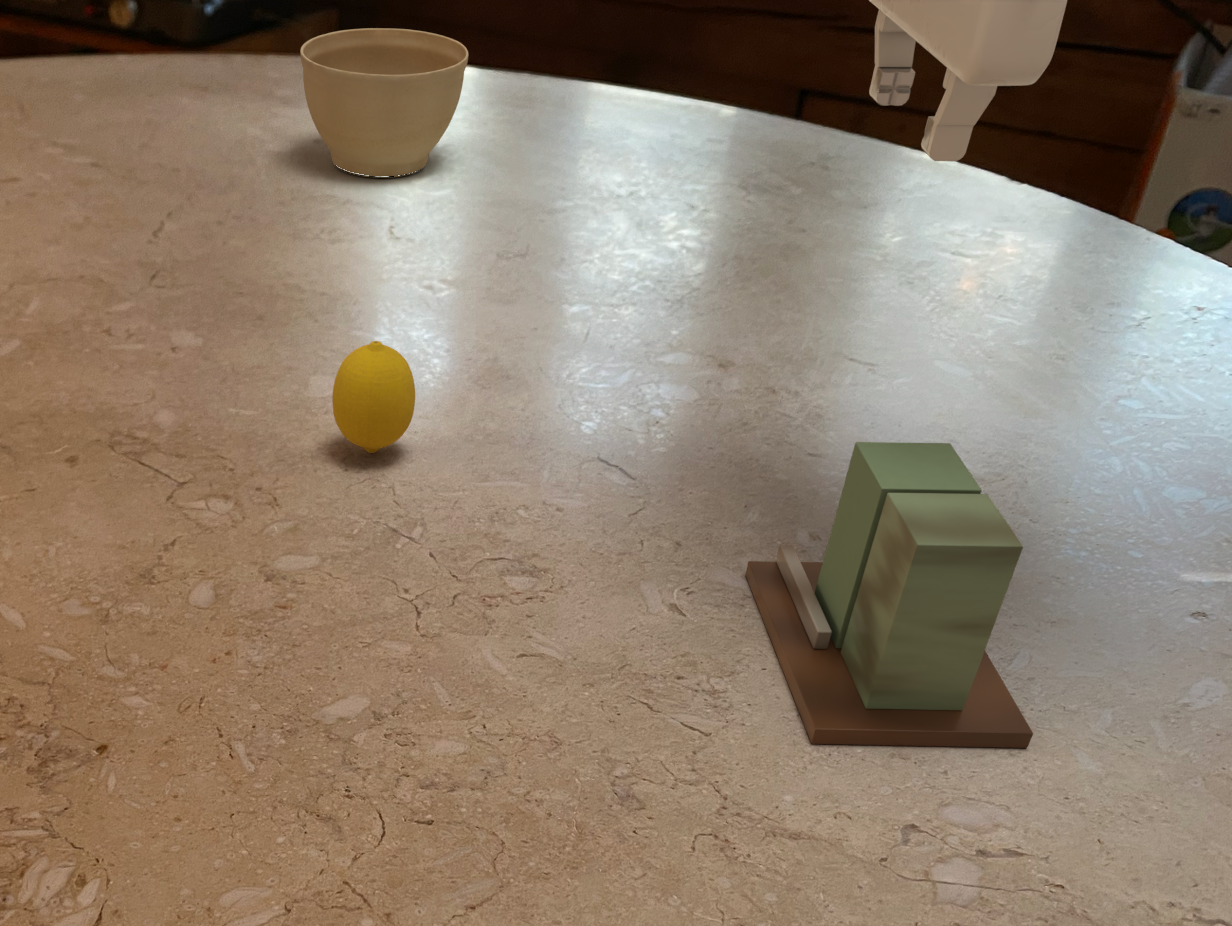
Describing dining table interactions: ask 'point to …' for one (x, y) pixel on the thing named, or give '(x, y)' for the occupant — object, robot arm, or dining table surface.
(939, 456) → the back pad
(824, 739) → the mount board
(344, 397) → the lemon
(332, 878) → the dining table surface
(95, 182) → the dining table surface
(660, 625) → the dining table surface
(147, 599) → the dining table surface
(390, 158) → the planter bowl
